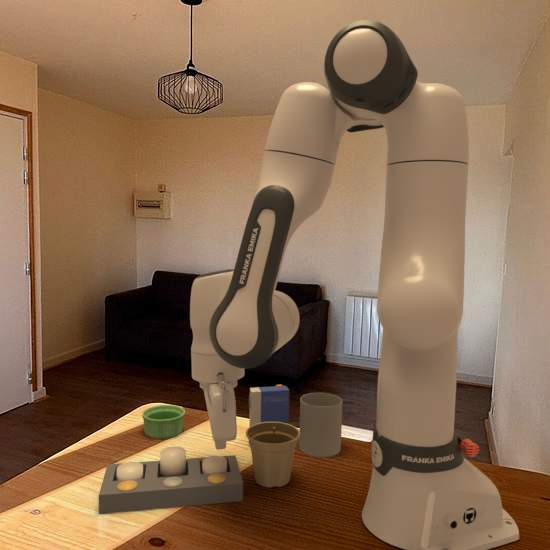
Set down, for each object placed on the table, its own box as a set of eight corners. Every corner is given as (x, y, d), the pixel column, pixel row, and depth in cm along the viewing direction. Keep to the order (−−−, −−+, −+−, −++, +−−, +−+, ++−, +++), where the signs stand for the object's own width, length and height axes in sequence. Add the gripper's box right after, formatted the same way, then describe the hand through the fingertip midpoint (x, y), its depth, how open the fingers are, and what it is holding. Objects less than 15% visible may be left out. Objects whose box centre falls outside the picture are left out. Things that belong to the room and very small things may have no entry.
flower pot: (294, 497, 80) (295, 446, 80) (238, 489, 82) (239, 440, 82) (302, 470, 90) (303, 424, 89) (252, 464, 92) (253, 419, 91)
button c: (143, 479, 84) (143, 460, 84) (142, 492, 80) (142, 472, 80) (118, 481, 83) (118, 462, 83) (115, 495, 79) (115, 474, 79)
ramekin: (174, 442, 100) (174, 422, 100) (134, 437, 102) (134, 417, 102) (191, 426, 109) (191, 407, 109) (154, 421, 111) (154, 402, 111)
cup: (295, 453, 96) (296, 404, 95) (302, 437, 104) (304, 391, 103) (338, 459, 94) (340, 408, 93) (342, 441, 102) (344, 395, 101)
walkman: (284, 440, 102) (285, 383, 101) (288, 445, 100) (289, 388, 99) (247, 443, 101) (248, 386, 99) (250, 449, 98) (251, 390, 97)
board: (235, 471, 89) (235, 454, 88) (242, 500, 79) (243, 481, 79) (107, 481, 84) (107, 463, 84) (98, 514, 75) (98, 493, 74)
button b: (185, 464, 85) (185, 445, 85) (185, 476, 81) (186, 456, 81) (160, 466, 84) (160, 447, 84) (159, 478, 80) (159, 458, 80)
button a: (225, 473, 87) (225, 455, 87) (228, 485, 83) (228, 466, 82) (201, 475, 86) (201, 456, 86) (202, 487, 82) (203, 468, 82)
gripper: (245, 382, 73) (247, 472, 74) (230, 351, 93) (232, 422, 94) (202, 385, 72) (205, 476, 73) (196, 353, 92) (198, 425, 93)
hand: (220, 445), depth 84 cm, fingers closed
